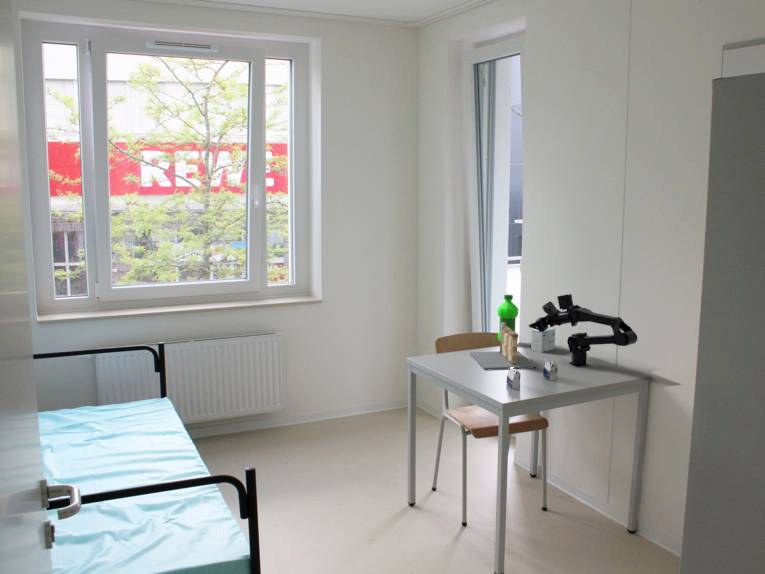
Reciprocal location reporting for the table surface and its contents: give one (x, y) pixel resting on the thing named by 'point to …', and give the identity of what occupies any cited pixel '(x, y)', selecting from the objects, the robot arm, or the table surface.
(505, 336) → the gate panel
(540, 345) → the light bulb box
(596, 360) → the table surface
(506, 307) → the plastic bottle
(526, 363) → the base
